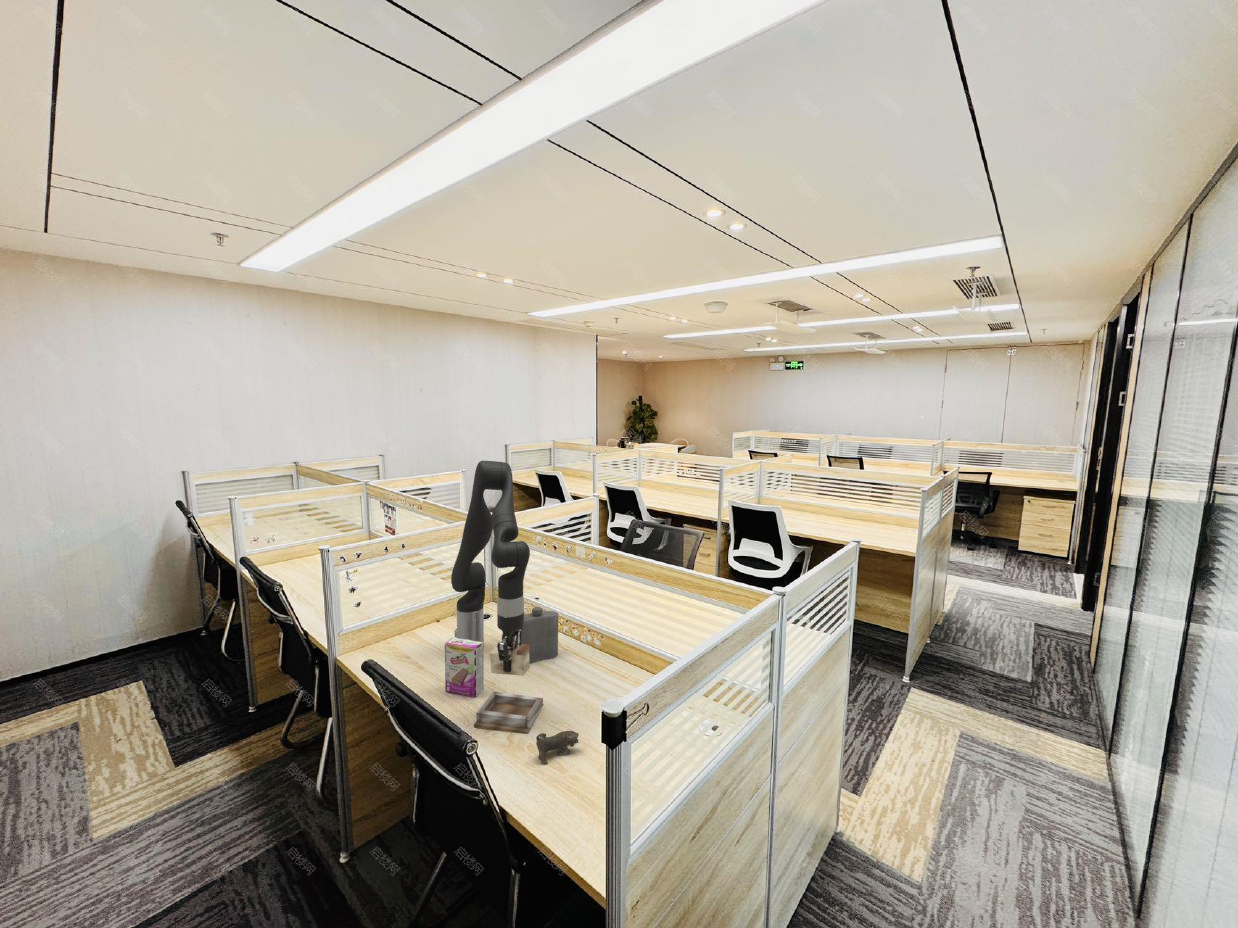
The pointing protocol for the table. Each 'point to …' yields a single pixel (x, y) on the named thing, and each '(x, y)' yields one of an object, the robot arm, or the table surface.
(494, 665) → the fuselage block
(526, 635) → the flask
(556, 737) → the dog figurine
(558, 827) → the table surface
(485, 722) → the tray
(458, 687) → the candy bar box
